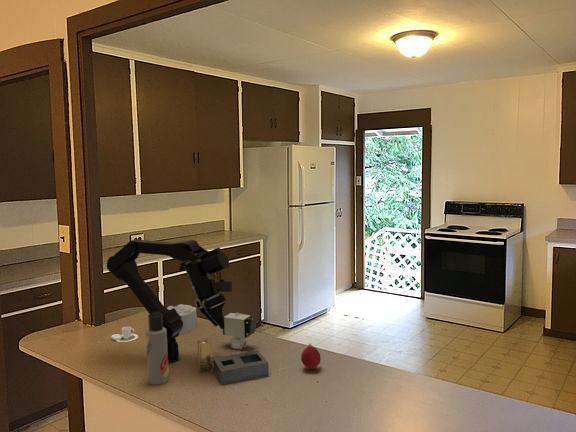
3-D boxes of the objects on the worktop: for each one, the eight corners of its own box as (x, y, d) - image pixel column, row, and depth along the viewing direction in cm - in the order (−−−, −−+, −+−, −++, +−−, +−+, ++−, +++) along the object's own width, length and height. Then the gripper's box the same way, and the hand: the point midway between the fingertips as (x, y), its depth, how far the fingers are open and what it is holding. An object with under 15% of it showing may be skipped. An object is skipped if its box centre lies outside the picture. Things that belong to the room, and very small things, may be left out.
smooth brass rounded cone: (200, 373, 146) (199, 344, 145) (197, 368, 150) (196, 339, 149) (213, 370, 148) (212, 342, 147) (210, 365, 151) (209, 337, 150)
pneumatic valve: (250, 352, 161) (249, 316, 159) (220, 347, 166) (218, 313, 164) (258, 346, 166) (257, 311, 164) (228, 341, 171) (227, 308, 169)
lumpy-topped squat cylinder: (200, 325, 188) (199, 303, 187) (180, 337, 176) (179, 314, 175) (178, 322, 192) (176, 301, 191) (157, 334, 180) (155, 311, 179)
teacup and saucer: (108, 342, 174) (107, 331, 174) (120, 334, 182) (120, 323, 181) (131, 343, 172) (130, 332, 172) (142, 335, 180) (141, 324, 179)
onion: (323, 367, 148) (323, 341, 147) (316, 375, 143) (316, 348, 142) (305, 364, 151) (305, 339, 150) (298, 371, 146) (297, 345, 145)
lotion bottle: (172, 377, 144) (169, 311, 141) (161, 386, 138) (157, 317, 136) (156, 375, 146) (152, 309, 143) (144, 383, 140) (140, 315, 138)
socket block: (221, 384, 138) (220, 371, 138) (213, 370, 148) (213, 358, 147) (268, 375, 143) (268, 362, 143) (258, 362, 153) (257, 350, 152)
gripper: (230, 267, 144) (251, 316, 144) (218, 270, 162) (236, 314, 161) (195, 282, 140) (216, 333, 140) (186, 284, 158) (205, 329, 157)
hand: (219, 326), depth 150 cm, fingers open, 9 cm apart
